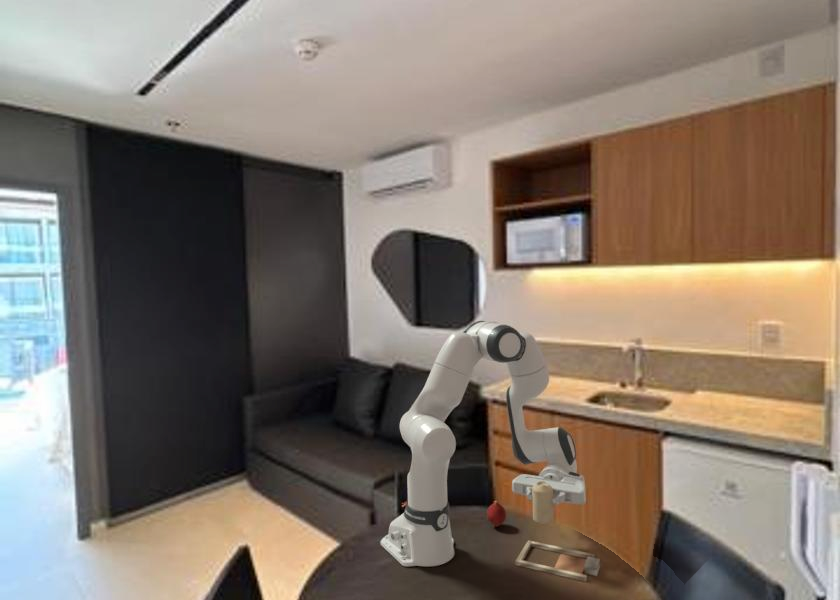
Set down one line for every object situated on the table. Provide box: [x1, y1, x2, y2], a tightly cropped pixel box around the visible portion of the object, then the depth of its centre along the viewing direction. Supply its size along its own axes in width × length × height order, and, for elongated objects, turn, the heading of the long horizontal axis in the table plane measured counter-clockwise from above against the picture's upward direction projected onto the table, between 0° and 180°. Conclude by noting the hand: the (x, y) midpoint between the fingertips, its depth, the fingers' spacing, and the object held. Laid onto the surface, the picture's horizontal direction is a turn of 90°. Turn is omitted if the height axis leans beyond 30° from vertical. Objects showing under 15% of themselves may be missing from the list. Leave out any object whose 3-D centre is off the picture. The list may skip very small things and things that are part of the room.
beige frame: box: [514, 539, 601, 582], centre depth 136 cm, size 20×12×2 cm, turn 62°
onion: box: [486, 500, 507, 528], centre depth 157 cm, size 6×6×8 cm
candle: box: [531, 481, 555, 525], centre depth 137 cm, size 6×6×10 cm
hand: (541, 499), depth 137 cm, fingers closed on candle, 5 cm apart
